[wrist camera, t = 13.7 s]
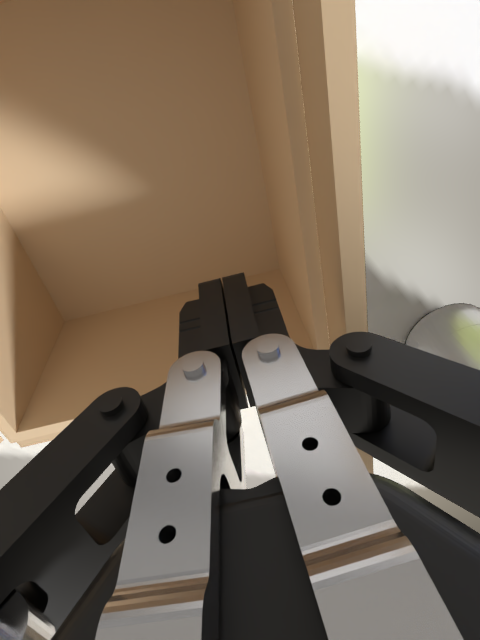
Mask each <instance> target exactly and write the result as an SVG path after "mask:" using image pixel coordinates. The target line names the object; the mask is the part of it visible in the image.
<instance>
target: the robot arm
mask: <svg viewBox="0 0 480 640" xmlns="http://www.w3.org/2000/svg"><path fill="white" fill-rule="evenodd" d="M222 281H223V284H222ZM222 281H221V278H218V279H214V280H210V281H206V282H202V283H199V284H198V289H199V299H196V300H192V301H188V302H186V303H185V304H184V306H183V308H182V309H181V311H180V312H179V346H178V360H176V361H175V362H174V363H173V364H172V366H171V367H170V369H169V372H168V377H167V382H165V383H164V384H163V385H161V386H160V387H158V388H156V389H154V390H152V391H150V392H148V393H146V394H144V395H142V396H140V394H139V393H138V391H136V390H135V389H133V388H130V387H119V388H115V389H112V390H109V391H107V392H105V393H103V394H102V395H100V396H99V397H98V398H96V399H95V400H94V401H93V402H92V403H91V404H90V405H89V406H88V407H87V408H86V409H85V410H84V411H83V412H81V413H80V414H79V415H78V416H77V417H76V418H75V419H74V420H73V421H72V422H71V423H70V424H69V425H68V426H67V427H66V428H65V429H64V430H63V431H62V432H60V433H59V434H58V435H57V436H56V437H55V438H54V439H53V440H52V441H51V442H50V443H49V444H48V445H47V446H46V447H45V448H44V449H43V450H42V451H41V452H40V453H38V454H37V455H36V456H35V457H34V458H33V459H32V460H31V461H30V462H29V463H28V464H27V465H26V466H25V467H24V468H23V469H22V470H21V471H20V472H19V473H17V474H16V476H14V477H13V478H12V479H11V480H10V481H9V482H8V483H7V484H6V485H5V486H4V487H3V488H2V489H1V490H0V640H480V534H479V533H478V532H476V531H475V530H473V529H471V528H470V527H468V526H467V525H465V524H463V523H462V522H460V521H459V520H457V519H456V518H454V517H452V516H451V515H449V514H448V513H446V512H444V511H443V510H441V509H440V508H438V507H436V506H435V505H433V504H432V503H430V502H428V501H427V500H425V499H424V498H422V497H421V496H419V495H417V494H416V493H414V492H413V491H411V490H409V489H408V488H406V487H404V486H403V485H401V484H399V483H396V482H394V481H392V480H390V479H387V478H385V477H382V476H379V475H375V474H371V473H369V472H368V470H367V468H366V466H365V464H364V462H363V461H362V459H361V457H360V455H359V453H358V451H357V449H356V447H357V448H358V449H360V450H362V451H364V452H365V453H367V454H369V455H371V456H372V457H374V458H376V459H378V460H379V461H381V462H383V463H385V464H386V465H388V466H390V467H392V468H393V469H395V470H397V471H399V472H400V473H402V474H404V475H406V476H407V477H409V478H411V479H413V480H414V481H416V482H418V483H420V484H421V485H423V486H425V487H427V488H428V489H430V490H432V491H434V492H435V493H437V494H439V495H441V496H443V497H444V498H446V499H448V500H450V501H451V502H453V503H455V504H457V505H458V506H460V507H462V508H464V509H465V510H467V511H469V512H471V513H473V514H474V515H476V516H478V517H479V518H480V308H478V307H475V306H473V305H471V304H464V303H459V304H451V305H447V306H443V307H441V308H438V309H436V310H434V311H433V312H431V313H429V314H427V315H426V316H425V317H424V318H422V319H421V320H420V321H419V322H418V323H417V324H416V325H415V326H414V328H413V329H412V331H411V332H410V334H409V336H408V338H407V341H406V345H405V344H402V343H400V342H397V341H394V340H391V339H388V338H385V337H382V336H379V335H376V334H373V333H369V332H351V333H347V334H344V335H342V336H340V337H338V338H337V339H336V340H334V341H333V343H332V344H331V346H330V349H329V350H315V349H307V348H303V347H301V346H299V345H297V344H295V343H294V341H293V340H292V339H291V338H290V336H289V334H288V331H287V328H286V325H285V323H284V320H283V317H282V314H281V311H280V308H279V306H278V303H277V301H276V297H275V294H274V292H273V289H271V288H270V287H268V286H267V285H266V284H264V283H261V284H257V285H253V286H249V287H247V283H246V279H245V275H244V272H242V273H238V274H234V275H230V276H226V277H222ZM223 287H224V288H223ZM245 390H246V392H245ZM246 393H247V396H248V400H249V403H250V407H252V406H256V409H257V413H258V416H259V420H260V424H261V427H262V431H263V434H264V437H265V441H266V444H267V447H268V451H269V454H270V458H271V461H272V464H273V468H274V471H275V474H276V477H275V478H273V479H271V480H269V481H267V482H265V483H263V484H261V485H259V486H257V487H254V488H251V489H246V475H245V455H244V436H243V430H242V426H241V413H240V409H245V408H248V403H247V397H246ZM111 463H112V464H113V465H114V467H115V470H114V471H113V472H112V474H111V475H110V476H109V477H108V478H107V479H106V480H105V482H104V483H103V484H102V485H101V486H100V487H99V489H98V490H97V491H96V492H95V493H94V494H93V495H92V497H91V498H90V499H89V500H88V501H87V502H86V504H85V505H84V506H83V507H82V508H81V509H80V510H79V511H78V513H77V514H76V515H75V508H76V505H77V503H78V501H79V499H80V498H81V497H82V495H83V494H84V493H85V492H86V491H87V490H88V489H89V487H90V486H91V485H92V484H93V483H94V482H95V481H96V480H97V478H98V477H99V476H100V475H101V474H102V473H103V471H104V470H105V469H106V468H107V467H108V466H109V465H110V464H111Z"/></svg>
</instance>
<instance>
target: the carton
mask: <svg viewBox="0 0 480 640" xmlns="http://www.w3.org/2000/svg"><path fill="white" fill-rule="evenodd" d="M242 272H244V275H245V279H246V283H247V287H249V286H253V285H257V284H261V283H264V284H266V285H267V286H268V287H270V288H271V289H273V292H274V294H275V297H276V301H277V303H278V306H279V308H280V311H281V314H282V317H283V320H284V323H285V325H286V328H287V331H288V334H289V336H290V338H291V339H292V340H293V341H294V343H295V344H297V345H299V346H301V347H303V348H307V349H315V350H329V349H330V343H329V334H328V325H327V316H326V307H325V298H324V288H323V279H322V270H321V261H320V252H319V243H318V233H317V224H316V215H315V206H314V197H313V188H312V179H311V169H310V160H309V151H308V142H307V133H306V124H305V114H304V105H303V96H302V87H301V78H300V69H299V60H298V50H297V41H296V32H295V23H294V14H293V5H292V0H0V431H1V432H2V433H3V434H4V436H5V437H6V438H7V439H8V440H9V442H10V443H14V442H17V443H18V444H19V445H20V447H25V446H30V445H34V444H38V443H42V442H47V441H51V440H53V439H54V438H55V437H56V436H57V435H58V434H59V433H60V432H62V431H63V430H64V429H65V428H66V427H67V426H68V425H69V424H70V423H71V422H72V421H73V420H74V419H75V418H76V417H77V416H78V415H79V414H80V413H81V412H83V411H84V410H85V409H86V408H87V407H88V406H89V405H90V404H91V403H92V402H93V401H94V400H95V399H96V398H98V397H99V396H100V395H102V394H103V393H105V392H107V391H109V390H112V389H115V388H119V387H130V388H133V389H135V390H136V391H138V393H139V394H140V396H142V395H144V394H146V393H148V392H150V391H152V390H154V389H156V388H158V387H160V386H161V385H163V384H164V383H165V382H167V377H168V372H169V369H170V367H171V366H172V364H173V363H174V362H175V361H176V360H178V346H179V312H180V311H181V309H182V308H183V306H184V304H185V303H186V302H188V301H192V300H196V299H199V289H198V284H199V283H202V282H206V281H210V280H214V279H218V278H221V281H222V277H226V276H230V275H234V274H238V273H242ZM222 284H223V281H222ZM223 288H224V287H223ZM245 392H246V390H245ZM246 394H247V393H246Z"/></svg>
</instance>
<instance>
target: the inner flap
mask: <svg viewBox="0 0 480 640" xmlns="http://www.w3.org/2000/svg"><path fill="white" fill-rule="evenodd" d="M292 2H293V11H294V21H295V30H296V39H297V48H298V57H299V66H300V76H301V85H302V94H303V103H304V112H305V122H306V131H307V140H308V149H309V158H310V167H311V177H312V186H313V195H314V204H315V213H316V223H317V232H318V241H319V250H320V259H321V268H322V278H323V287H324V296H325V305H326V314H327V324H328V333H329V342H330V346H331V344H332V343H333V341H334V340H336V339H337V338H338V337H340V336H342V335H344V334H347V333H351V332H368V324H367V299H366V273H365V248H364V223H363V199H362V198H363V197H362V171H361V146H360V122H359V121H360V120H359V94H358V69H357V43H356V18H355V0H292ZM356 449H357V451H358V453H359V455H360V457H361V459H362V461H363V462H364V464H365V466H366V468H367V470H368V472H369V473H371V474H373V457H372V456H371V455H369V454H367V453H365V452H364V451H362V450H360V449H358V448H357V447H356Z"/></svg>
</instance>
